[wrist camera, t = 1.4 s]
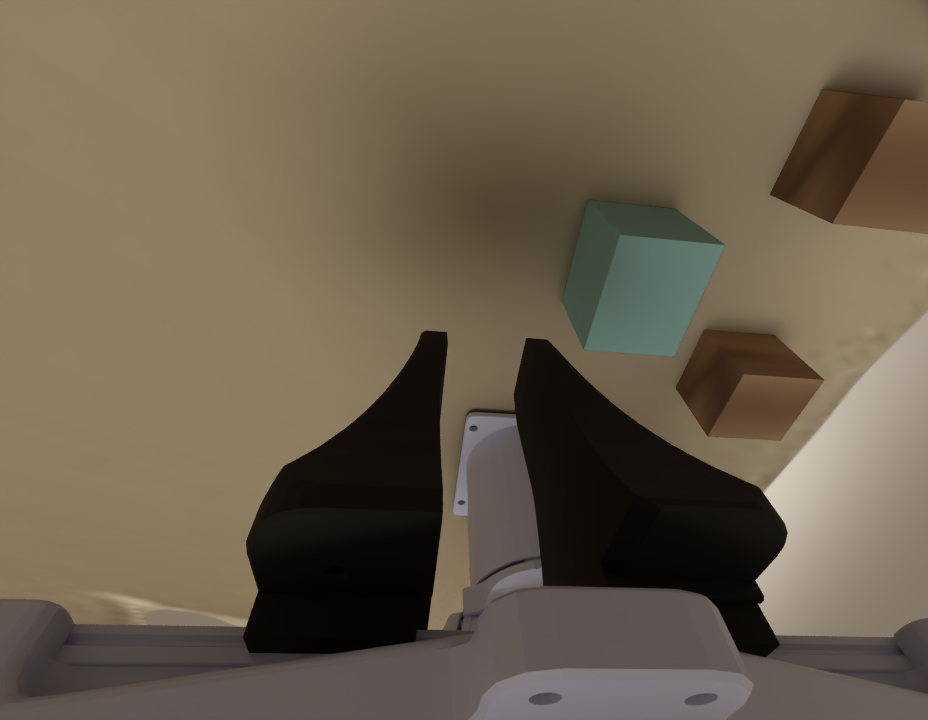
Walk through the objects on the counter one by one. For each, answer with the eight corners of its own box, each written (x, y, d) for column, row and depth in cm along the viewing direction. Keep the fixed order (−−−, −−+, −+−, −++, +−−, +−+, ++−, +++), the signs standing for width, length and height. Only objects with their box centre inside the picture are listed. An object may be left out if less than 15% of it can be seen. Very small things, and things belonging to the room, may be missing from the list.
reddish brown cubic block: (739, 391, 26) (780, 440, 23) (675, 387, 26) (707, 436, 23) (773, 334, 24) (824, 380, 21) (703, 329, 24) (743, 374, 21)
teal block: (637, 306, 23) (674, 356, 19) (561, 300, 22) (583, 350, 19) (674, 208, 20) (725, 245, 16) (587, 199, 20) (620, 235, 16)
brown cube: (851, 203, 20) (930, 234, 17) (768, 194, 20) (832, 223, 16) (912, 102, 18) (1016, 114, 15) (819, 89, 17) (905, 99, 14)
